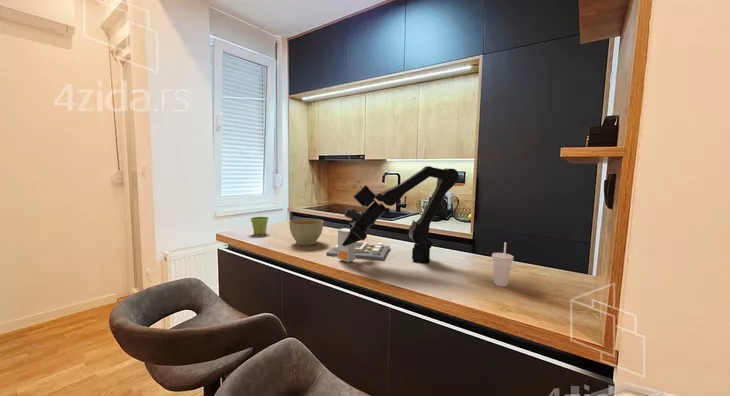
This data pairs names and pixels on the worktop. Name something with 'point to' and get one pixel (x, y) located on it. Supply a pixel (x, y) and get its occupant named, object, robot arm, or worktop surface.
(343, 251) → the skincare box
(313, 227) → the planter bowl
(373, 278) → the worktop surface
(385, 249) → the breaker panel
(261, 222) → the plant pot
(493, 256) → the smoothie
